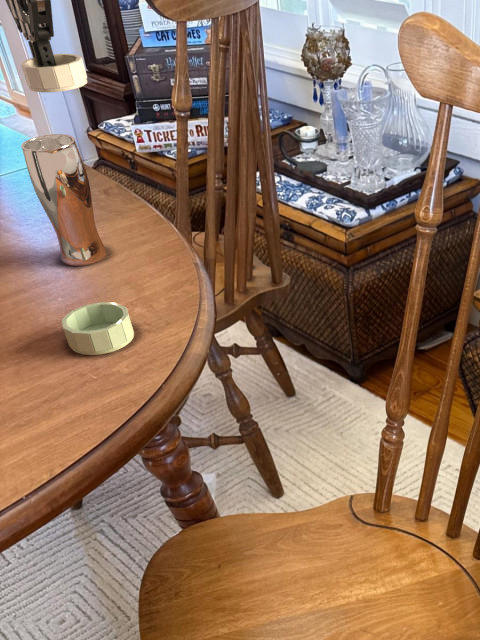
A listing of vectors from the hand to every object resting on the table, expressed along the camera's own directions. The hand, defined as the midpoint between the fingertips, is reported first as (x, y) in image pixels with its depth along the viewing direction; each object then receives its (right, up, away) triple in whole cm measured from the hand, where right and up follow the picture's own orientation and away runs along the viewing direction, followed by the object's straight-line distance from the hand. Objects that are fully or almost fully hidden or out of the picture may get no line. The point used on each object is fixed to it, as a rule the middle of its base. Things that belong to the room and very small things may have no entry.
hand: (48, 72), depth 104 cm
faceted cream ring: (+2, -2, -1) cm, 3 cm away
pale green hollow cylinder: (+12, -39, -12) cm, 42 cm away
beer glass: (+3, -23, +5) cm, 24 cm away
